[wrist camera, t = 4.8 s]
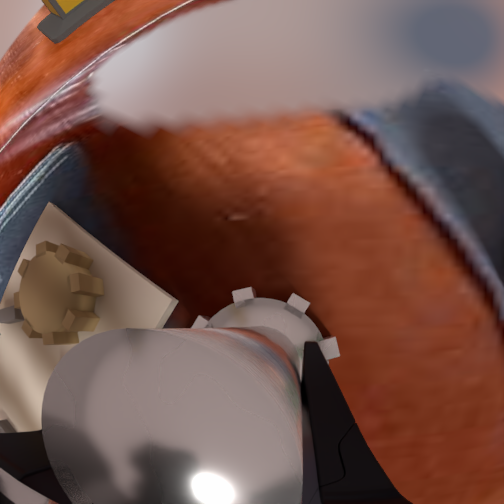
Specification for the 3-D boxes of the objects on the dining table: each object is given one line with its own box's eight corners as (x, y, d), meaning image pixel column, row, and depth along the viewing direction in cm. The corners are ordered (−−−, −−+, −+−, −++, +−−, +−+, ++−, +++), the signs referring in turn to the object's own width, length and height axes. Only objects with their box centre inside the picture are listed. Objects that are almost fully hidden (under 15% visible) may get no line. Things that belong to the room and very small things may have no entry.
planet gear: (284, 452, 15) (246, 649, 2) (169, 378, 17) (-38, 435, 4) (362, 336, 16) (539, 357, 3) (240, 263, 18) (100, 115, 5)
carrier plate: (71, 491, 16) (45, 506, 12) (-17, 383, 19) (-44, 385, 15) (178, 300, 18) (152, 295, 14) (56, 205, 21) (27, 189, 18)
